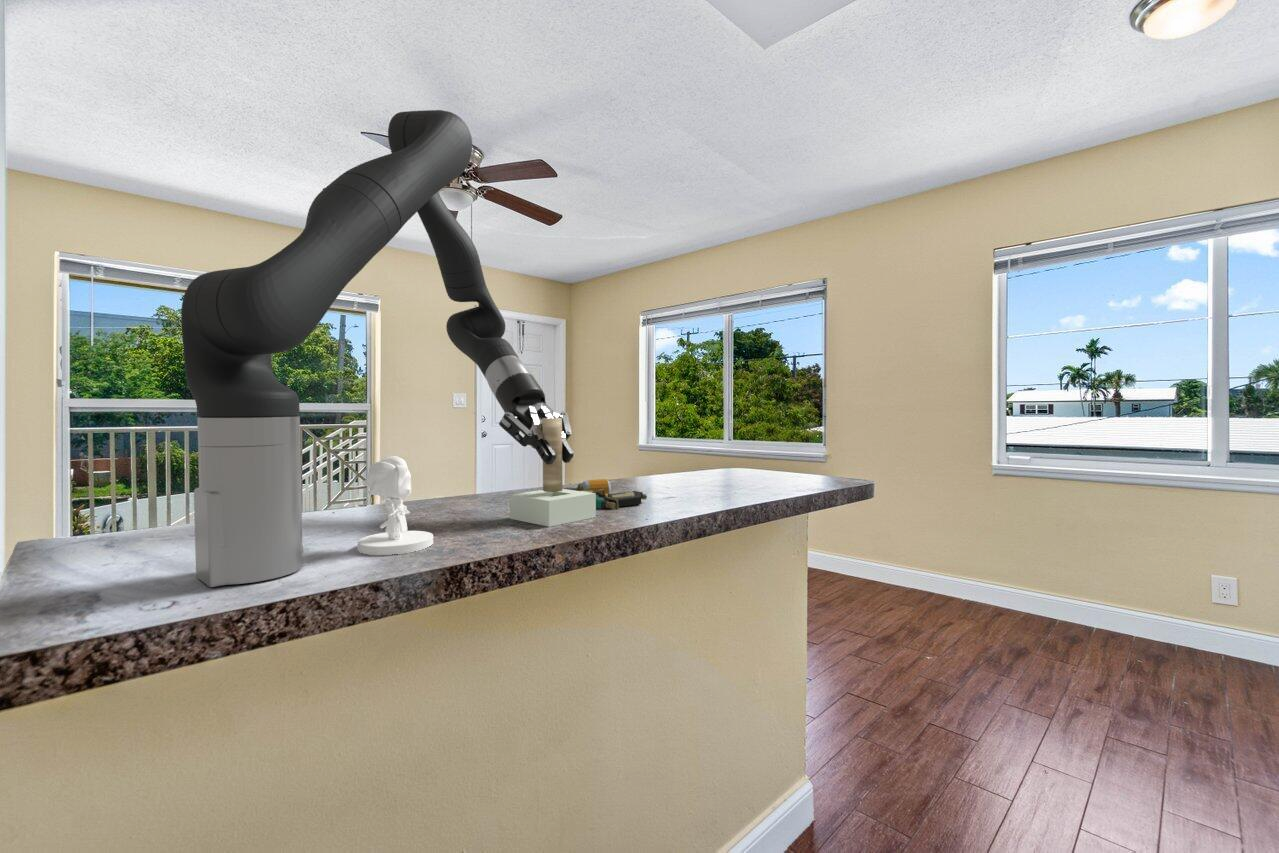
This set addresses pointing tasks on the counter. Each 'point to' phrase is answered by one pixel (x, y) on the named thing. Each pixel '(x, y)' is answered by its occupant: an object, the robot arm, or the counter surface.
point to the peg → (554, 438)
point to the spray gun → (609, 494)
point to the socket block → (552, 507)
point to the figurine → (392, 510)
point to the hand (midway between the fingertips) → (560, 459)
